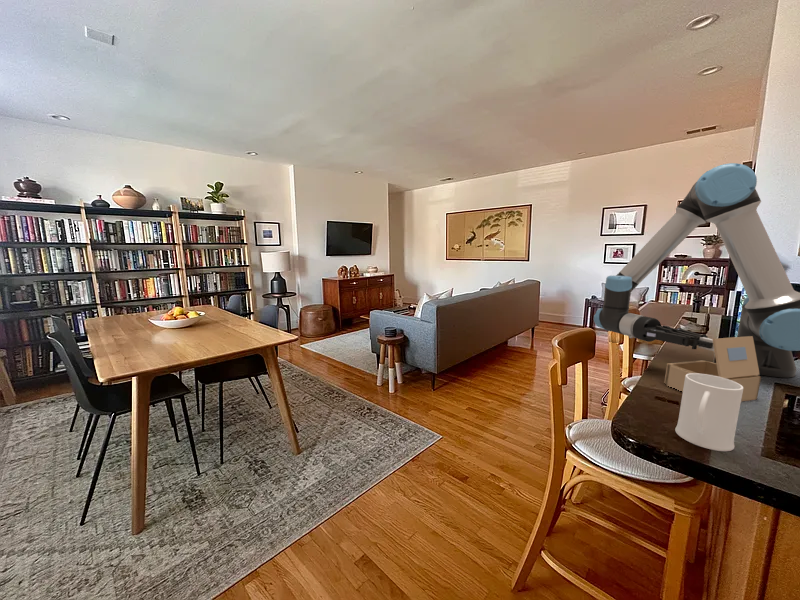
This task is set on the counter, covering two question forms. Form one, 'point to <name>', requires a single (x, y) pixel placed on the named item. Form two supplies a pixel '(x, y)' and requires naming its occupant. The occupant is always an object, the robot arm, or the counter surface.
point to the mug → (709, 411)
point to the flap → (735, 357)
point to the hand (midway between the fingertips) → (730, 349)
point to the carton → (679, 371)
